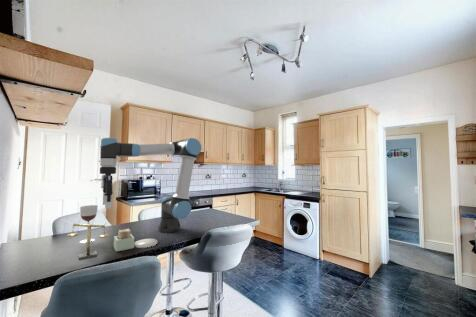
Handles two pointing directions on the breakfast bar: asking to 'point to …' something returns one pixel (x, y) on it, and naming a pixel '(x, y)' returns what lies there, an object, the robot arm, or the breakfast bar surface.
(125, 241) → the pale green open box
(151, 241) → the dish
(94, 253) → the balance
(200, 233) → the breakfast bar surface
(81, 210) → the wineglass
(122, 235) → the block
